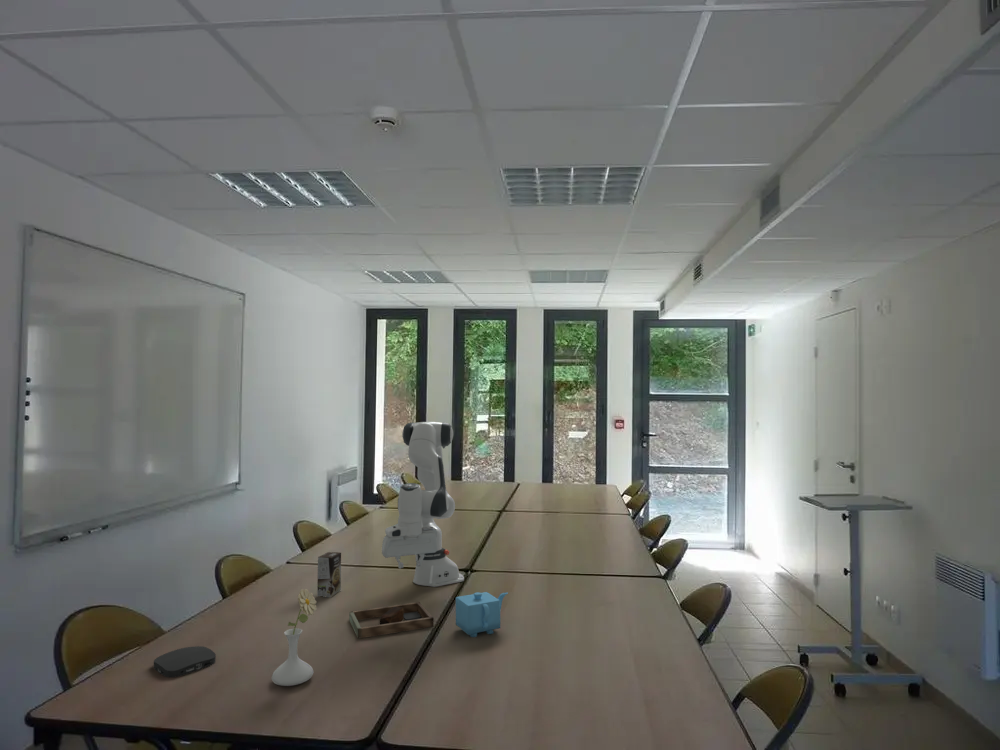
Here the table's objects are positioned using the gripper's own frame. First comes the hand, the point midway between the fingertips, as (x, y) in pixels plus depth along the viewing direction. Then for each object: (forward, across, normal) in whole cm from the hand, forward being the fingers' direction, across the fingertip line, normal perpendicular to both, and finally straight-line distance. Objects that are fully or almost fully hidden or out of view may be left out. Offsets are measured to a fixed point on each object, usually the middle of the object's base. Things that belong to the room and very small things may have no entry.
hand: (409, 567), depth 217 cm
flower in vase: (+19, +42, +32) cm, 56 cm away
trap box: (+19, +7, 0) cm, 20 cm away
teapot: (+19, -22, +19) cm, 35 cm away
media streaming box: (+20, +72, +8) cm, 75 cm away
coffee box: (+19, +23, -43) cm, 52 cm away
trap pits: (+19, -2, 0) cm, 19 cm away
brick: (+20, +7, +1) cm, 21 cm away
